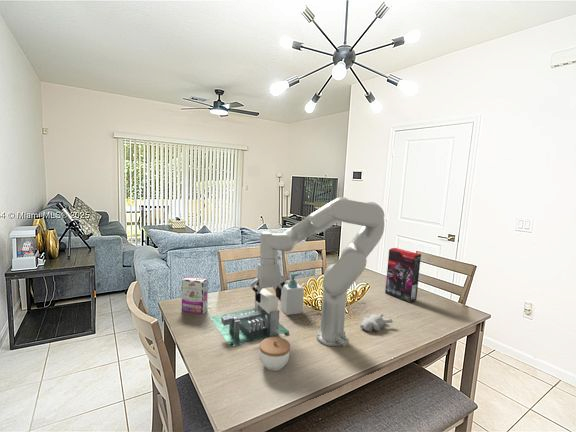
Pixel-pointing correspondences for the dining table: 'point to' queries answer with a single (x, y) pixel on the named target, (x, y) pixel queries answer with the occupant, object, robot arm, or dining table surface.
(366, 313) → the dining table surface
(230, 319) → the grey capped bar
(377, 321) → the bunny figurine
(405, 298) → the graphics card box
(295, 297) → the soap bottle
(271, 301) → the plain white rectangular block
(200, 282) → the candy bar box
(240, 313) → the green base metal fixture
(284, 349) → the lidded jar
